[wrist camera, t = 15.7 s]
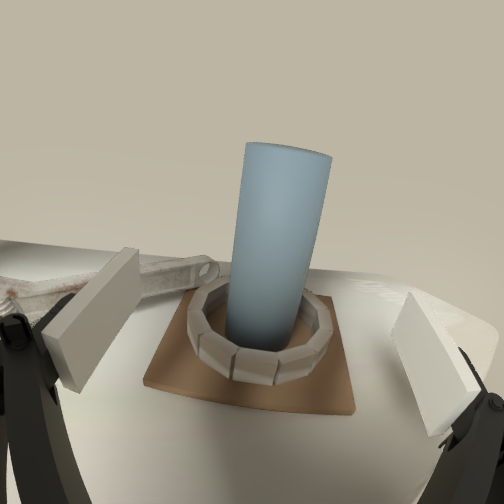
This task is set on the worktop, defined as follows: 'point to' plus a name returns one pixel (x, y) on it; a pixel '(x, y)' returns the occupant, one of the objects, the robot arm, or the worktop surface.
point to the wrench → (51, 291)
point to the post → (273, 242)
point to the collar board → (253, 358)
